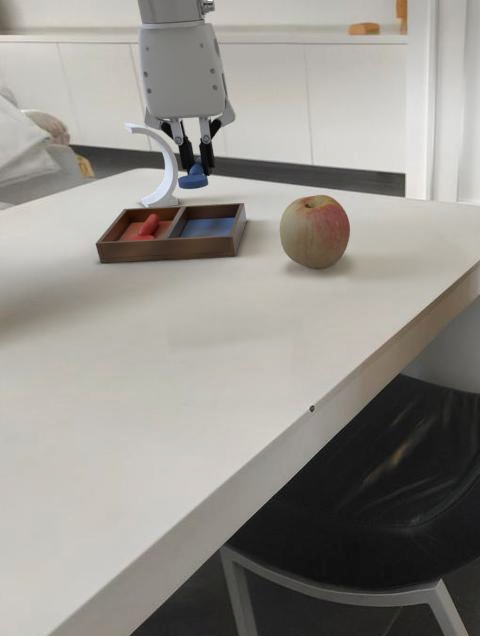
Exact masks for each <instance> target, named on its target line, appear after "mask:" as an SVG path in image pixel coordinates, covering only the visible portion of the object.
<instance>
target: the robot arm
mask: <svg viewBox="0 0 480 636" xmlns="http://www.w3.org/2000/svg"><path fill="white" fill-rule="evenodd" d="M137 5H138V10H139V14H140V20H141V25H142V26H140V27H138V28H137V44H138V57H139V65H140V66H139V67H140V75H141V83H142V89H143V95H144V100H145V104H146V106H145V107H146V108H145V114H144V124H145V127H147V128H150V129H154V130H157V131H161V132H163V133H164V134H165V135H166V136H167V137H169V138H170V139H171V140H172V141H173V142H174V144H175V145H177V147H178V153H179V157H180V163H181V168H182V170H186V175H189V172H190V170H191V168H192V167H193V165H194V164H195V162H196V160H195V156H194V155H195V153H194V148H193V144H192V141H191V140H189V136H188V135H187V132H186V128H185V123H184V119H192V118H193V119H194V118H198V125H199V130H200V138H199V141H200V142H199V144H198V149H199V153H200V155H199V157H200V156H201V161H202V167H203V170H204V173H203V175H206V176H207V177H210V176H211V174H212V172H213V169H214V168H216V159H215V154H214V153H215V152H214V147H213V141H212V140H213V139H214V137H215V136H216V134H217V133H218V132H219V131H220V129H221V128H224V127H226V126H228V125H230V124H232V123H234V122H235V121H236V120H237V114H236V112H235V110H234V108H233V106H232V104H231V102H230V99H229V93H228V87H227V86H228V85H227V82H226V76H225V71H224V70H225V69H224V65H223V61H222V55H221V52H220V47H219V46H220V45H219V42H218V39H217V36H216V32H215V28H214V27H213V23H211V22H206V19H205V18H206V15H207V14H209V13H211V12H216V5H215V0H137ZM212 117H214V118H213V120H212Z"/></svg>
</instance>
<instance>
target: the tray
mask: <svg viewBox="0 0 480 636" xmlns="http://www.w3.org/2000/svg"><path fill="white" fill-rule="evenodd" d="M246 213H247V212H246V205H245V202H235V203H234V202H231V203H213V204H195V205H190V204H189V205H173V206H167V207H150V208H146V207H134V208H131V207H129V208H124V209H122V211H121V212H120V213H119V214H118V216H116V218H115V219H114V220H113V222H112V223H111V224H110V225H109V226H108V228H107V229H106V230H105V231H104V232H103V234H102V235H101V236H100V237H99V239H98V240H96V242H95V247H96V251H97V254H98V258H99V262H100V264H107V263H109V264H111V263H126V262H128V263H129V262H149V261H165V260H167V261H168V260H182V259H183V260H186V259H203V258H204V259H205V258H224V257H225V258H227V257H236V255H237V252H238V249H239V246H240V243H241V240H242V236H243V233H244V230H245V227H246V224H247V214H246ZM151 214H156V215H157V216H158V217H159V219H160V222H159V224H158V226H157V227H156V229H155V230H154V232H153V233H152V235H151V236H153V237H154V238H155V239H150V240H130V241H126V240H127V239H129V238H131V237H134V236H138V232H139V230H140V229H141V227H142V226H143V224H144V223H145V222H146V220H147V219H148V217H149V216H150V215H151Z"/></svg>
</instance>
